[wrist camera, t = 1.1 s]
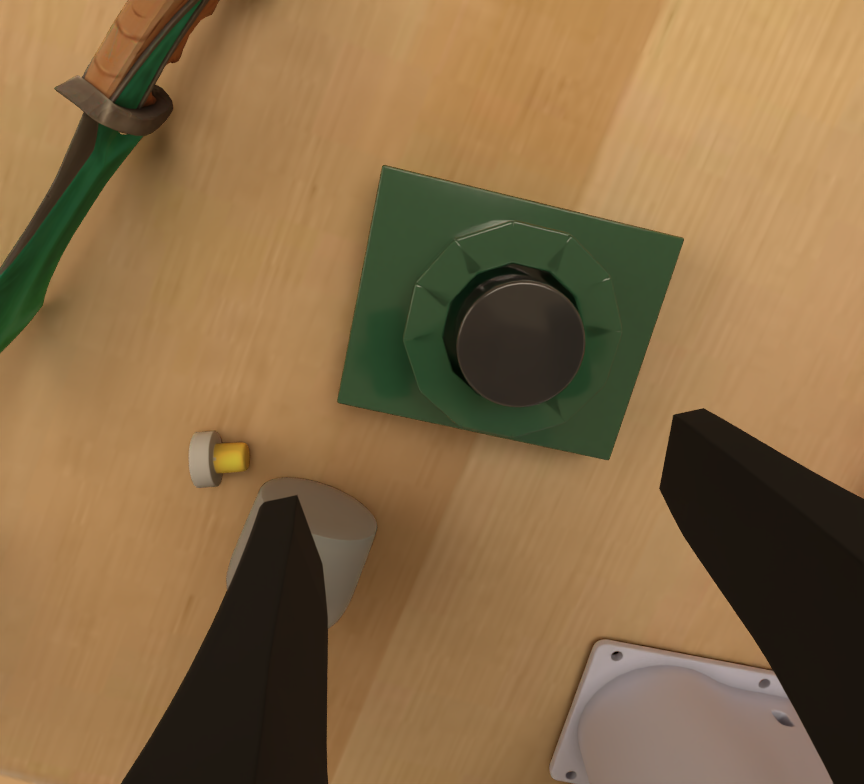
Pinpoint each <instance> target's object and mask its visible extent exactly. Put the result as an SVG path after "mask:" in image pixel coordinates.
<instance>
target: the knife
mask: <svg viewBox="0 0 864 784" xmlns="http://www.w3.org/2000/svg"><path fill="white" fill-rule="evenodd" d="M218 2H219V0H128V1H127V3H126V4H125V6H124V7H123V9H122V10H121V12H120V13H119V15H118V17H117V18H116V20H115V21H114V23H113V25H112V26H111V28H110V30H109V31H108V33H107V35H106V37H105V38H104V40H103V42H102V43H101V45H100V47H99V49H98V50H97V52H96V54H95V56H94V57H93V59H92V61H91V62H90V64H89V65H88V67H87V69H86V71H85V73H84V75H83V76H82V77H80V76H78V75H77V76H75V77H73V78H71V79H69V80H68V81H66V82H65V83H63V84H61V85H59V86H56V87H55V88H54V89H55V90H56V91H57V92H59V93H60V94H61V95H63V96H64V97H66V98H67V99H68V100H70V101H71V102H73V103H74V104H75V105H76V106H78V107H79V108H80V109H81V110H82V111H83V112H84V113H83V115H82V118H81V120H80V123H79V125H78V127H77V130H76V132H75V134H74V136H73V139H72V141H71V143H70V146H69V148H68V150H67V153H66V155H65V157H64V160H63V162H62V164H61V167H60V169H59V171H58V174H57V176H56V178H55V180H54V181H53V183H52V185H51V187H50V189H49V191H48V193H47V194H46V196H45V198H44V199H43V201H42V203H41V204H40V206H39V208H38V210H37V211H36V213H35V215H34V216H33V218H32V220H31V221H30V223H29V225H28V226H27V228H26V229H25V231H24V232H23V234H22V235H21V237H20V238H19V240H18V241H17V243H16V244H15V246H14V247H13V249H12V250H11V252H10V253H9V255H8V256H7V258H6V259H5V261H4V263H3V264H2V266H1V267H0V353H1V352H2V351H3V350H4V349H5V348H6V347H7V346H8V345H9V344H10V343H11V342H12V341H13V340H14V339H15V338H16V337H17V336H18V334H19V333H20V332H21V331H22V330H23V329H24V328H25V327H26V326H27V324H28V323H29V322H30V321H31V320H32V319H33V317H34V316H35V315H36V313H37V312H38V311H39V310H40V308H41V307H42V306H43V302H44V297H45V294H46V291H47V288H48V285H49V282H50V280H51V277H52V275H53V273H54V271H55V269H56V267H57V264H58V262H59V260H60V258H61V256H62V254H63V252H64V251H65V249H66V247H67V245H68V243H69V242H70V240H71V238H72V236H73V235H74V233H75V231H76V230H77V228H78V227H79V225H80V224H81V222H82V220H83V219H84V217H85V216H86V214H87V213H88V211H89V209H90V208H91V206H92V205H93V203H94V202H95V200H96V199H97V197H98V195H99V194H100V192H101V191H102V189H103V188H104V186H105V185H106V183H107V182H108V181H109V179H110V178H111V177H112V175H113V174H114V173H115V171H116V170H117V169H118V168H119V166H120V165H121V164H122V162H123V161H124V160H125V159H126V157H127V156H128V155H129V153H130V152H131V151H132V150H133V148H134V147H135V146H136V145H137V143H138V142H139V141H140V140H141V138H142V137H143V136H145V135H148V134H151V133H152V132H154V131H155V130H156V129H158V128H159V127H160V126H161V125H162V124H163V123H164V122H165V121H166V120H167V118H168V117H169V116H170V114H171V112H172V110H173V104H172V100H171V99H170V97H169V95H168V94H167V93H166V92H165V91H164V90H163V88H161V87H159V86H157V85H155V83H156V82H157V80H158V78H159V76H160V74H161V73H162V71H163V69H164V67H165V66H166V65H167V64H168V63H170V62H171V63H176V62H177V61H179V59H180V57H181V55H182V51H183V48H184V46H185V44H186V42H187V39H188V37H189V35H190V34H191V32H192V31H193V30H194V28H195V27H196V26H197V24H198V23H199V22H200V20H202V19H203V18H205V17H207V16H209V15H212V13H213V12H214V10H215V8H216V6H217V4H218ZM118 131H119V132H122V133H126V135H122V134H120V133H119V132H118Z"/></svg>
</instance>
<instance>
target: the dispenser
mask: <svg viewBox="0 0 864 784" xmlns="http://www.w3.org/2000/svg"><path fill="white" fill-rule="evenodd" d="M683 241H684V239H683V238H682V237H678V236H674V235H670V234H665V233H661V232H657V231H653V230H649V229H645V228H641V227H637V226H633V225H629V224H624V223H620V222H616V221H612V220H608V219H604V218H600V217H596V216H592V215H588V214H584V213H579V212H575V211H571V210H567V209H563V208H559V207H555V206H551V205H547V204H543V203H538V202H534V201H530V200H526V199H522V198H518V197H514V196H510V195H506V194H502V193H497V192H493V191H489V190H485V189H481V188H477V187H473V186H469V185H465V184H461V183H456V182H452V181H448V180H444V179H440V178H436V177H432V176H428V175H424V174H420V173H416V172H411V171H407V170H403V169H399V168H395V167H391V166H387V165H383V166H382V169H381V174H380V180H379V185H378V190H377V195H376V200H375V206H374V211H373V216H372V221H371V227H370V232H369V237H368V242H367V248H366V253H365V258H364V263H363V268H362V274H361V279H360V284H359V289H358V295H357V300H356V305H355V310H354V316H353V321H352V326H351V331H350V336H349V342H348V347H347V352H346V357H345V363H344V368H343V373H342V378H341V384H340V389H339V394H338V399H337V402H338V403H340V404H345V405H350V406H354V407H359V408H364V409H368V410H373V411H378V412H383V413H387V414H392V415H397V416H401V417H406V418H411V419H416V420H420V421H425V422H430V423H434V424H439V425H444V426H449V427H453V428H458V429H463V430H467V431H472V432H477V433H482V434H486V435H491V436H496V437H500V438H505V439H510V440H514V441H519V442H524V443H529V444H533V445H538V446H543V447H547V448H552V449H557V450H562V451H566V452H571V453H576V454H580V455H585V456H590V457H595V458H599V459H604V460H609V459H610V456H611V453H612V450H613V447H614V444H615V441H616V439H617V436H618V433H619V430H620V427H621V424H622V421H623V418H624V415H625V412H626V409H627V406H628V403H629V400H630V397H631V394H632V391H633V388H634V386H635V383H636V380H637V377H638V374H639V371H640V368H641V365H642V362H643V359H644V356H645V353H646V350H647V347H648V344H649V341H650V338H651V336H652V333H653V330H654V327H655V324H656V321H657V318H658V315H659V312H660V309H661V306H662V303H663V300H664V297H665V294H666V291H667V288H668V286H669V283H670V280H671V277H672V274H673V271H674V268H675V265H676V262H677V259H678V256H679V253H680V250H681V247H682V244H683ZM507 274H521V275H527V276H530V277H533V278H536V279H538V280H540V281H542V282H544V283H546V284H548V285H550V286H552V287H553V288H555V289H557V290H558V291H560V292H561V293H563V294H564V295H565V296H566V297H567V298H568V299H569V300H570V301H571V302H572V303H573V305H574V306H575V308H576V309H577V311H578V313H579V315H580V317H581V319H582V322H583V325H584V330H585V342H586V344H585V352H584V356H583V360H582V363H581V366H580V368H579V370H578V372H577V374H576V375H575V377H574V378H573V380H572V381H571V382H570V383H569V385H568V386H567V387H566V388H565V389H564V390H562V391H561V392H560V393H559V394H557V395H556V396H554V397H553V398H551V399H549V400H547V401H545V402H543V403H540V404H537V405H533V406H529V407H508V406H503V405H499V404H496V403H494V402H491V401H489V400H487V399H486V398H484V397H482V396H481V395H480V394H478V393H477V392H476V391H475V390H474V389H473V388H472V387H471V386H470V385H469V383H468V382H467V381H466V379H465V377H464V376H463V374H462V372H461V369H460V366H459V363H458V359H457V355H456V350H455V346H454V339H453V328H454V322H455V318H456V315H457V312H458V310H459V308H460V306H461V304H462V303H463V301H464V299H465V298H466V297H467V296H468V295H469V293H470V292H471V291H473V290H474V289H475V288H476V287H477V286H479V285H480V284H481V283H483V282H485V281H487V280H489V279H491V278H494V277H497V276H501V275H507Z"/></svg>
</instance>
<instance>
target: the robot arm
mask: <svg viewBox="0 0 864 784" xmlns="http://www.w3.org/2000/svg"><path fill="white" fill-rule="evenodd" d="M659 489H660V491H661V493H662V495H663V497H664V499H665V501H666V503H667V505H668V507H669V509H670V511H671V513H672V515H673V517H674V519H675V521H676V523H677V525H678V527H679V529H680V530H681V532H682V534H683V536H684V537H685V539H686V540H687V542H688V543H689V545H690V546H691V548H692V549H693V551H694V552H695V554H696V555H697V557H698V558H699V560H700V561H701V563H702V564H703V566H704V567H705V569H706V570H707V572H708V573H709V574H710V576H711V577H712V579H713V580H714V582H715V583H716V585H717V586H718V588H719V589H720V590H721V592H722V593H723V595H724V596H725V598H726V599H727V601H728V602H729V603H730V605H731V606H732V608H733V609H734V611H735V612H736V614H737V615H738V617H739V618H740V619H741V621H742V622H743V624H744V625H745V627H746V628H747V630H748V631H749V632H750V634H751V635H752V637H753V638H754V640H755V642H756V643H757V645H758V646H759V648H760V649H761V651H762V653H763V654H764V656H765V657H766V659H767V661H768V662H769V664H770V666H771V668H772V669H773V671H772V670H766V669H761V668H756V667H751V666H745V665H740V664H735V663H729V662H724V661H719V660H713V659H708V658H703V657H698V656H692V655H687V654H682V653H676V652H671V651H666V650H660V649H655V648H650V647H645V646H639V645H634V644H629V643H623V642H618V641H613V640H608V639H602V640H599V641H597V642H596V643H595V644H594V646H593V648H592V651H591V654H590V656H589V659H588V662H587V664H586V667H585V670H584V673H583V675H582V678H581V681H580V683H579V686H578V689H577V692H576V694H575V697H574V700H573V703H572V705H571V708H570V711H569V713H568V716H567V719H566V722H565V724H564V727H563V730H562V732H561V735H560V738H559V741H558V743H557V746H556V749H555V752H554V754H553V757H552V760H551V762H550V765H549V770H550V774H551V777H552V778H553V779H555V780H558V781H563V782H569V783H575V784H864V499H863V498H861V497H859V496H857V495H855V494H853V493H851V492H849V491H847V490H845V489H844V488H842V487H840V486H838V485H836V484H834V483H833V482H831V481H829V480H827V479H825V478H823V477H822V476H820V475H818V474H816V473H814V472H813V471H811V470H809V469H807V468H806V467H804V466H802V465H800V464H799V463H797V462H795V461H793V460H792V459H790V458H788V457H786V456H785V455H783V454H781V453H780V452H778V451H776V450H775V449H773V448H771V447H769V446H768V445H766V444H764V443H763V442H761V441H759V440H758V439H756V438H754V437H752V436H751V435H749V434H747V433H746V432H744V431H742V430H741V429H739V428H737V427H736V426H734V425H732V424H730V423H729V422H727V421H725V420H724V419H722V418H720V417H718V416H717V415H715V414H713V413H711V412H709V411H707V410H706V409H704V408H703V409H698V410H694V411H689V412H684V413H680V414H675V415H673V420H672V425H671V430H670V436H669V441H668V446H667V451H666V457H665V462H664V467H663V472H662V478H661V483H660V488H659ZM615 651H619V652H618V653H617V654H615V655H612V653H613V652H615ZM327 665H328V613H327V603H326V592H325V582H324V573H323V564H322V561H321V558H320V556H319V553H318V550H317V547H316V545H315V542H314V539H313V536H312V534H311V531H310V528H309V525H308V523H307V520H306V517H305V514H304V512H303V509H302V506H301V503H300V501H299V498H298V495H294V496H290V497H285V498H280V499H276V500H271V501H266V502H263V504H262V505H261V506H260V507H259V510H258V513H257V516H256V519H255V522H254V525H253V527H252V530H251V533H250V536H249V538H248V541H247V544H246V546H245V549H244V551H243V554H242V556H241V559H240V561H239V564H238V566H237V569H236V571H235V574H234V576H233V578H232V580H231V583H230V585H229V587H228V590H227V592H226V594H225V596H224V599H223V601H222V603H221V605H220V608H219V610H218V612H217V614H216V616H215V619H214V621H213V623H212V625H211V627H210V629H209V631H208V633H207V635H206V637H205V639H204V641H203V643H202V645H201V647H200V649H199V651H198V653H197V655H196V657H195V659H194V661H193V663H192V665H191V667H190V669H189V671H188V672H187V674H186V676H185V678H184V680H183V682H182V683H181V685H180V687H179V689H178V691H177V693H176V694H175V696H174V698H173V700H172V701H171V703H170V705H169V707H168V709H167V710H166V712H165V714H164V715H163V717H162V719H161V720H160V722H159V724H158V725H157V727H156V729H155V731H154V732H153V734H152V736H151V737H150V739H149V740H148V742H147V744H146V745H145V747H144V748H143V750H142V752H141V753H140V755H139V756H138V758H137V759H136V761H135V763H134V764H133V766H132V767H131V769H130V770H129V772H128V773H127V775H126V777H125V778H124V780H123V781H122V783H121V784H328V775H327V743H326V742H327ZM763 679H764V680H763ZM761 680H763V681H761ZM760 681H761V682H760ZM569 771H571V772H569Z"/></svg>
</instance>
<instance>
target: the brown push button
mask: <svg viewBox="0 0 864 784" xmlns="http://www.w3.org/2000/svg"><path fill="white" fill-rule="evenodd" d="M453 339H454V346H455V350H456V355H457V359H458V363H459V366H460V369H461V372H462V374H463V376H464V377H465V379H466V381H467V382H468V383H469V385H470V386H471V387H472V388H473V389H474V390H475V391H476V392H477V393H478V394H480V395H481V396H482V397H484V398H486V399H487V400H489V401H491V402H494V403H496V404H499V405H503V406H508V407H529V406H533V405H537V404H540V403H543V402H545V401H547V400H549V399H551V398H553V397H554V396H556V395H557V394H559V393H560V392H561V391H562V390H564V389H565V388H566V387H567V386H568V385H569V383H570V382H571V381H572V380H573V378H574V377H575V375H576V374H577V372H578V370H579V368H580V366H581V363H582V360H583V356H584V352H585V344H586V342H585V330H584V325H583V322H582V319H581V317H580V315H579V313H578V311H577V309H576V308H575V306H574V305H573V303H572V302H571V301H570V300H569V299H568V298H567V297H566V296H565V295H564V294H563V293H561V292H560V291H558V290H557V289H555V288H553V287H552V286H550V285H548V284H546V283H544V282H542V281H540V280H538V279H536V278H533V277H530V276H527V275H521V274H507V275H501V276H497V277H494V278H491V279H489V280H487V281H485V282H483V283H481V284H480V285H479V286H477V287H476V288H475V289H474V290H473V291H471V292H470V293H469V295H468V296H467V297H466V298H465V299H464V301H463V303H462V304H461V306H460V308H459V310H458V312H457V315H456V318H455V322H454V328H453Z"/></svg>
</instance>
